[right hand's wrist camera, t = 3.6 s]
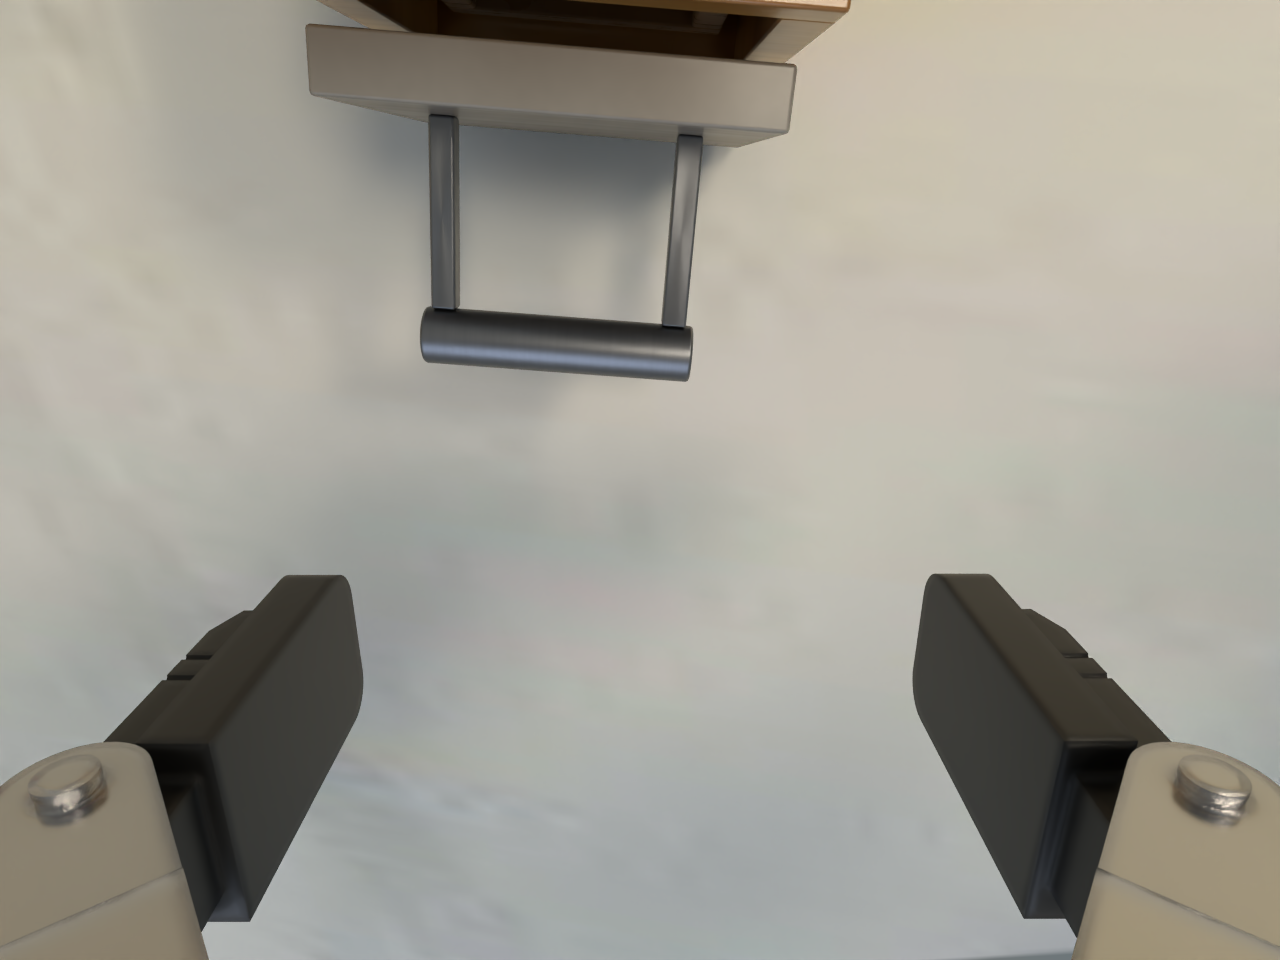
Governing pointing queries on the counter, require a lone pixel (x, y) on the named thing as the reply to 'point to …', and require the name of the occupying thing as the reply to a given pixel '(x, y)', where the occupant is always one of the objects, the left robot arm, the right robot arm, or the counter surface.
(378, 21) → the cabinet
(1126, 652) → the counter surface
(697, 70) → the drawer
